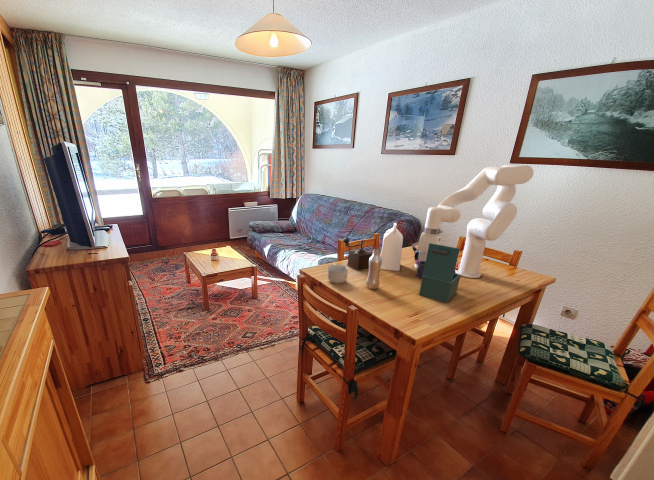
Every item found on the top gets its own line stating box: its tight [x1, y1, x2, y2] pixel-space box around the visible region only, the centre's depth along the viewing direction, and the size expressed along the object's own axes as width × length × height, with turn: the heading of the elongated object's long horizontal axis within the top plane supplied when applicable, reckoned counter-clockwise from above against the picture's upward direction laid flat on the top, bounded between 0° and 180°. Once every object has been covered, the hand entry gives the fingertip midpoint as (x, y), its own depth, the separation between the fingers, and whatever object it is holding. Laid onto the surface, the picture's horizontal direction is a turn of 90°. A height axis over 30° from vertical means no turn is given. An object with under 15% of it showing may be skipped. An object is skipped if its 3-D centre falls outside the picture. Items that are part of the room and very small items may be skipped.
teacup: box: [326, 263, 349, 284], centre depth 165 cm, size 14×11×8 cm
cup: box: [416, 261, 426, 279], centre depth 171 cm, size 7×7×8 cm
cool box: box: [419, 272, 462, 304], centre depth 149 cm, size 15×13×10 cm
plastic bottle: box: [365, 248, 382, 290], centre depth 154 cm, size 6×7×20 cm
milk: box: [380, 222, 404, 272], centre depth 182 cm, size 12×12×26 cm
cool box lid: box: [423, 243, 461, 282], centre depth 138 cm, size 16×13×5 cm
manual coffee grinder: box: [342, 237, 373, 271], centre depth 183 cm, size 16×11×18 cm
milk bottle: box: [413, 251, 427, 270], centre depth 181 cm, size 8×8×20 cm
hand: (425, 261), depth 169 cm, fingers open, 9 cm apart
